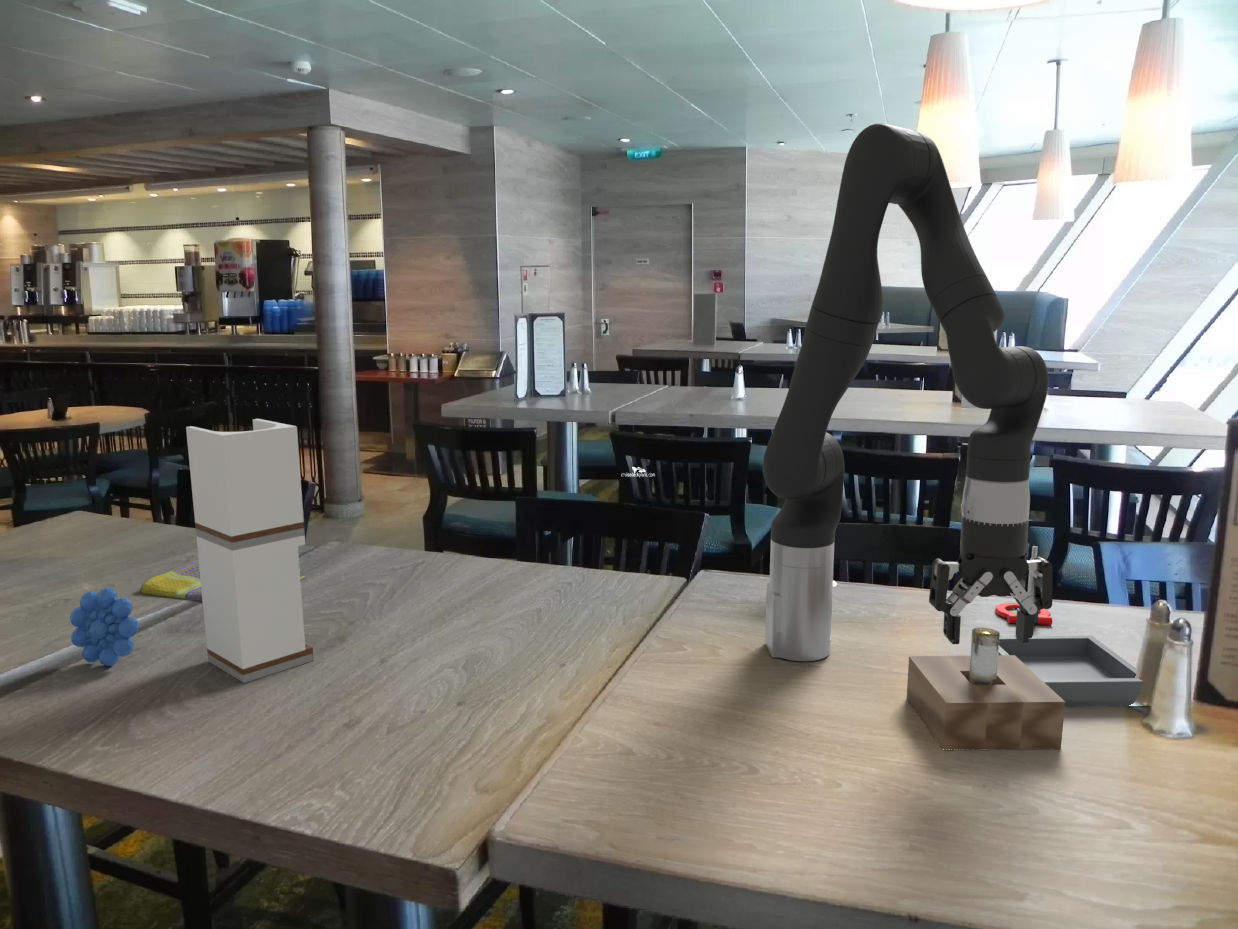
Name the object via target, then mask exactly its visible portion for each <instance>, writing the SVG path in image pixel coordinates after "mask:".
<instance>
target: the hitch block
mask: <svg viewBox="0 0 1238 929" xmlns="http://www.w3.org/2000/svg"><path fill="white" fill-rule="evenodd" d="M907 665H908V667H907V668H908V669H907V670H908V671H907V684H906V685H907V686H906V687H907V688H906V700H907V701H908V703H909V704H910V705H911V707H912V709H913V711H915V713H916V714H917V716H918V717H919V718H920V720H921V721H922V722H923V724H924V725H925V727H926V728H927V730H928V731H929V733H930V734H931V735H932V737H933V736H934V737H933V738H934V739H935V740H937V741H936V742H937V743H939V746H940V748H941V747H942V748H941V750H943V749H944V750H943V751H962V750H961V749H965V750H964V751H967V750H966V749H970V750H969V751H972V750H971V749H975V750H974V751H977V750H976V749H982V750H983V749H996V750H1001V749H1002V750H1003V749H1004V751H1006V750H1008V749H1009V750H1061V749H1062V740H1063V731H1064V730H1063V727H1064V718H1065V717H1064V716H1065V708H1066V707H1065V701H1064V700H1063V699H1062V698H1061V697H1059V696H1058V695H1057V694H1056V693H1055V692H1054V691H1053V690H1052V689H1051V688H1050V687H1049V686H1048V685H1046V684H1045V683H1044V682H1043V681H1042V680H1041V679H1040V678H1039V677H1038V676H1037V675H1036V674H1035V673H1033V672H1032V671H1031V670H1030V669H1029V668H1028V667H1027V666H1026V665H1025V664H1024V663H1023V662H1022V661H1020V660H1019V659H1018V658H1017V657H1016V656H1015V655H998V665H997V678H996V685H972V684H971V683H970V682H969V667H970V655H912V656H911V655H909V656H908V664H907ZM946 749H947V750H946ZM948 749H950V750H948ZM951 749H952V750H951ZM954 749H955V750H954ZM956 749H958V750H956ZM959 749H960V750H959ZM982 750H981V751H982ZM1002 750H1001V751H1002ZM983 751H984V750H983Z"/></svg>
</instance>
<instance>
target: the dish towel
mask: <svg viewBox="0 0 1238 929" xmlns="http://www.w3.org/2000/svg"><path fill="white" fill-rule="evenodd" d="M301 573H302V569H301V568H300V574H301ZM305 579H306V576H305V575H300V582H301V581H303V580H305ZM139 590H140V592H141V593H142V594H143V595H152V596H158V597H164V598H165V597H167V598H171V599H178V600H179V599H180V600H189V601H190V600H191V601H200V602H201V601H202V590H201V580H200V569H199V559H198V558H197V559H195V560H193V561H190V562H188V563H185V564H182V565H180V566H178V567H175V568H174V569H171V570H170V571H168V572H164V573H161V574H159V575H158V574H157V575H156V576H153V577H150V578H149V579H147V580H145V581H143V584H142V585H141V586H140V588H139ZM202 602H203V601H202Z"/></svg>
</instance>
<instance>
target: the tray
mask: <svg viewBox="0 0 1238 929" xmlns="http://www.w3.org/2000/svg"><path fill="white" fill-rule="evenodd" d="M998 655H1015V656H1016V657H1017V658H1018V659H1019V660H1020V661H1022V662H1023V663H1024V664H1025V665H1026V666H1027V667H1028V668H1029V669H1030V670H1031V671H1032V672H1033V673H1035V674H1036V675H1037V676H1038V677H1039V678H1040V679H1041V680H1042V681H1043V682H1044V683H1045V684H1046V685H1048V686H1049V687H1050V688H1051V689H1052V690H1053V691H1054V692H1055V693H1056V694H1057V695H1058V696H1059V697H1061V698H1062V699H1063V700H1064V701H1065V708H1110V707H1113V708H1115V707H1116V708H1117V707H1125V708H1126V707H1128V706H1129V705H1131V704H1133V703H1134V702H1135V700H1136V699H1137V697H1138V696H1139V693H1140V690H1141V689H1142V688H1141V687H1142V684H1143V681H1142V680H1140V679H1138V678H1135V676H1136V668H1137V667H1135V666H1134V665H1132V664H1131V663H1130V662H1128V661H1127V660H1125V658H1123V657H1122V656H1120V655H1119V654H1117V652H1115V651H1114V650H1113V649H1111V648H1109V647H1108V646H1107V645H1105V644H1104V643H1102V642H1101V641H1100V640H1098V639H1097V638H1096V637H1095V636H1093V635H1033V636H1032V638H1029V642H1028V643H1021V642H1020V641H1019V640H1017V638H1016V635H1015V636H1014V635H1013V636H1012V635H1011V636H1008V635H1005V636H1004V635H1002V636H1000V638H999V651H998ZM1137 695H1138V696H1137Z"/></svg>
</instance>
